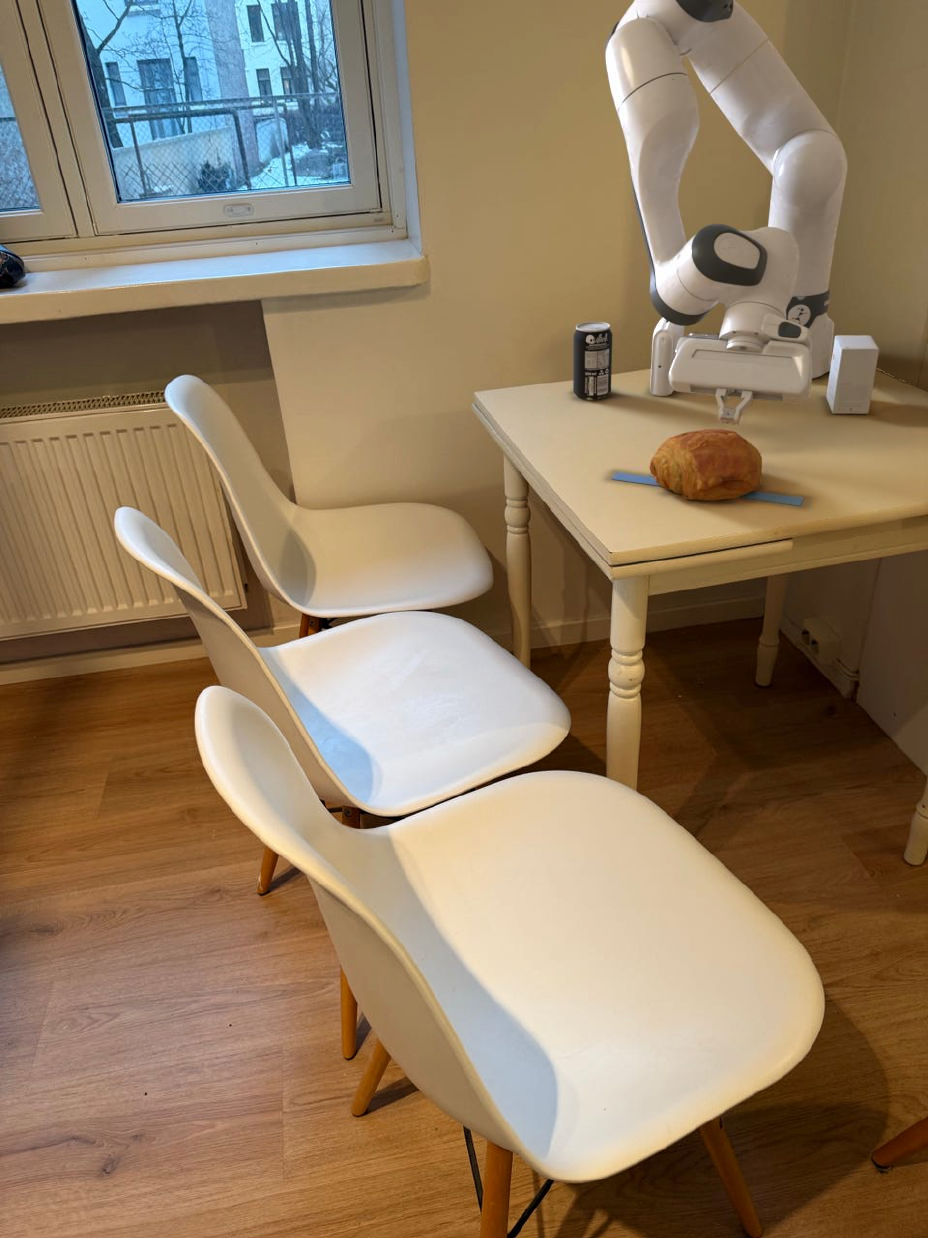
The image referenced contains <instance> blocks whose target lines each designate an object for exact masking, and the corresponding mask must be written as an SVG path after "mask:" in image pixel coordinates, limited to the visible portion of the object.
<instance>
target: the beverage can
mask: <svg viewBox="0 0 928 1238" xmlns="http://www.w3.org/2000/svg"><path fill="white" fill-rule="evenodd" d="M610 328H611V324H609V323H608V322H605V321H585V322H580V323H578V324H576V326H575V331H574V333H573V344H572V345H573V348H572V349H573V350H572V351H573V352H572V353H573V355H572V356H573V357H572V358H573V359H572V360H573V363H572V365H573V367H572V368H573V369H572V371H573V373H572V374H573V377H572V379H573V381H572V382H573V383H572V384H573V386H572V390H573V393H574V394H575V396H576V397H577V398H579V399H581V400H588V401H594V400H595V401H596V400H601V399H604V398H606V397H607V396H609V394H610V393H611V392H612V369H613V365H612V364H613V332H612V331H611V329H610Z"/></svg>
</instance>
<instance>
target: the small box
mask: <svg viewBox="0 0 928 1238" xmlns="http://www.w3.org/2000/svg"><path fill="white" fill-rule="evenodd" d="M879 353H880V348H879V347H878V345H877V343H876V342H875V340H874V338H873V337H872V335H867V334H866V335H865V334H863V335H851V334H849V335H846V334H845V335H844V334H843V335H834V339H833V346H832V354H831V358H832V361H831V368H830V371H829V375H828V381H827V382H828V383H827V389H826V396H825V398H826V400H827V403H828V405H829V408H830V410H831V413H832V414H834V415H835V414H846V415H847V414H855V415H856V414H857V415H859V414H861V415H864V414H865V415H867V414H869V413H870V406H871V401H872V396H873V395H872V394H873V389H874V382H875V377H876V371H877V364H878V360H879V359H878V358H879Z"/></svg>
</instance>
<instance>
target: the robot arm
mask: <svg viewBox="0 0 928 1238" xmlns="http://www.w3.org/2000/svg"><path fill="white" fill-rule="evenodd" d="M604 55H605V65H606V66H605V67H606V72H607V78H608V82H609V88H610V93H611V96H612V100H613V104H614V107H615V110H616V114H617V117H618V120H619V123H620V126H621V129H622V133H623V137H624V140H625V145H626V151H627V154H628V161H629V167H630V178H631V179H630V180H631V187H632V188H631V189H632V193H633V199H634V204H635V208H636V213H637V217H638V220H639V226H640V229H641V234H642V237H643V238H642V239H643V241H644V246H645V249H646V253H647V254H646V255H647V258H648V262H649V269H650V270H649V271H650V280H649V296H650V301H651V304H652V305H653V308H654V309H655V311H656V312H657V313H658V314H659V315H660V316H661V318H664V319H666V320H667V321H669V322H671V323H673V324H676V325H680V326H684V327H688V326H693V325H696V324H698V323H700V322H701V321H702V320H703V319H704V318H706V316H707V315H708V314H709V313H710V311H712V309H714V307H715V306H716V305H717V304H719V303H720V304H723V305H724V306H725V312H724V317H723V320H722V324H721V327H720V331H719V332H699V331H690V332H689V333H688V334H684V336H683V337H681V338H680V339H679V341H678V344H677V348H676V356H675V359H674V361H673V363H672V366H671V369H670V372H669V382H670V384H671V386H672V388H673V389H674V391H675V392H679V393H687V394H699V395H708V396H715V399H716V403H717V406H718V414H717V418H716V419H717V423H720V424H726V425H727V424H729V425H736V426H739V425H740V421H741V416H742V415H744V414H745V413H746V411H748V410H749V409H750V408H751V407H752V406H753V401H754V400H756V401H757V400H758V401H767V402H776V403H785V404H795V405H802V404H804V403H805V402H807V400H808V399H809V398H810V395H811V389H812V381H813V379H816V378H818V377H821V376H824V375H825V374H826V373H828V372H830V368H831V361H832V354H833V345H834V331H835V322H834V321H833V319H831V318H830V317H829V316H828V314H827V312H828V311H829V305H830V303H831V289H830V288H829V284H830V278H831V272H832V263H833V257H834V250H835V243H836V238H837V232H838V226H839V221H840V216H841V209H842V204H843V198H844V192H845V187H846V180H847V173H848V158H847V154H846V151H845V149H844V148H845V147H844V145H843V143H842V141H841V139H840V137H839V136H838V134H837V133H836V132H835V130H834V129H833V127H832V126H831V124H830V123H829V121H828V120H827V119H826V117H825V116H824V115H823V114H822V112H821V110H820V109H819V108H818V106H817V105H816V103H815V102H814V101H813V99H812V98H811V97H810V96H809V94H808V92H807V91H806V90H805V88H804V87H803V86H802V84H801V83H800V82H799V80H798V79H797V77H796V76H795V75H794V73H793V71H792V70H791V68H790V67H789V66H788V64H787V63H786V61H785V60H784V59H783V57H782V56H781V54H780V53H779V51H778V50H777V48H776V47H775V46H774V44H773V43H772V41H771V40H770V39H769V37H768V35H767V34H766V33H765V32H764V30H763V29H762V27H761V26H760V25H759V24H758V22H756V20H755V19H754V18H753V17H752V15H751V14H750V13H749V12H748V11H746V9H745V8H744V7H743V6H742V5H741V4H740V3H738V2H737V1H736V0H633V2H632V3H631V5H630V6H629V7H628V9H627V10H626V12H625V13H624V14H623V16H622V17H621V19H620V20H619V21H617V22H616V23H615V25H614V26H613V28H612V29H611V32H610V33H609V35H608V38H607V40H606V42H605V47H604ZM684 57H687V58H688V60H689V63H690V64H691V66H692V68H693V70H694V72H695V74H696V75H697V77H698V79H699V80H700V82H701V83H702V85H703V87H704V88H705V90H706V92H708V94H709V95H710V97H711V98H712V100H713V101H714V102H715V103H716V105H717V106H718V108H719V109H720V110H721V112H722V114H723V115H724V117H726V119H727V121H728V122H729V123H730V125H731V126H732V128H733V129H734V130H735V131H736V133H737V134H738V136H740V138H742V140H743V141H744V142H745V143H746V145H747V146H748V147H749V148H750V150H752V152H753V153H754V154H755V155H756V156H757V158H758V159H759V160H760V162H761V163H762V164H763V165H764V166H765V168H766V169H767V170H768V172H769V173H770V175H771V176H772V184H771V192H770V202H769V203H770V204H769V212H768V213H769V214H768V224H767V226H762V227H759V228H757V229H753V230H742V229H737V228H735V227H733V226H731V225H728V224H724V223H712V224H711V223H710V224H709V225H706V226H703V227H702V228H701V229H699V230H698V231H697V233H695V234H694V235H693V236H692V237H691V238H690V239H689V240H687V236H686V232H685V228H684V223H683V221H682V216H681V211H680V207H679V189H680V183H681V178H682V176H683V172H684V170H685V167H686V163H687V161H688V159H689V157H690V154H691V151H692V149H693V147H694V145H695V143H696V139H697V136H698V133H699V129H700V112H699V105H698V100H697V95H696V92H695V89H694V87H693V84H692V81H691V77H690V75H689V73H688V70H687V68H686V65H685V63H684V61H683V58H684ZM728 398H737V399H741V402H740V403H739V404H738V405H737V406H736V407H735V408H734V407H733V408H730V407H725V405H724V403H727V402H728Z"/></svg>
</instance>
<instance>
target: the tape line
mask: <svg viewBox="0 0 928 1238" xmlns="http://www.w3.org/2000/svg"><path fill="white" fill-rule="evenodd" d="M611 480H614V481H622V482H627V483H628V482H629V483H635V484H641V485H642V484H643V485H648V486H649V485H650V486H656V487H661V486H660V485H659V484H658V483H656V481H655V479H654V476H647V475H638V474H632V473H625V472H616V473H615V474H614V475H613V476H612V478H611ZM739 498H742V499H749V500H756V501H764V502H770V503H777V504H785V505H792V506H798V507H801V506H802V503H803V502H804V499H805V497H801V496H800V497H798V496H792V495H784V494H778V493H771V492H764V491H757V490H754V491H751V492H749V493H748V494H745V495H742V496H740V497H739Z"/></svg>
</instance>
